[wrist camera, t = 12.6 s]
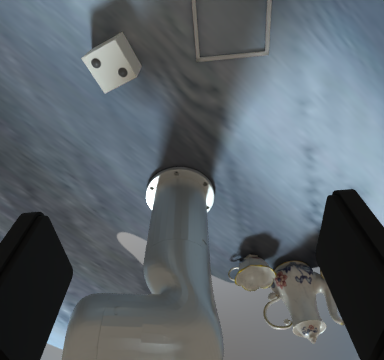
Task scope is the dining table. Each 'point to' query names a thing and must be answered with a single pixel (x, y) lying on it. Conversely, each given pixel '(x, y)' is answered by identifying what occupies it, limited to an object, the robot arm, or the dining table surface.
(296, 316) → the chinaware
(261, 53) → the game board
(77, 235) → the dining table surface
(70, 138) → the dining table surface
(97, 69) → the die
